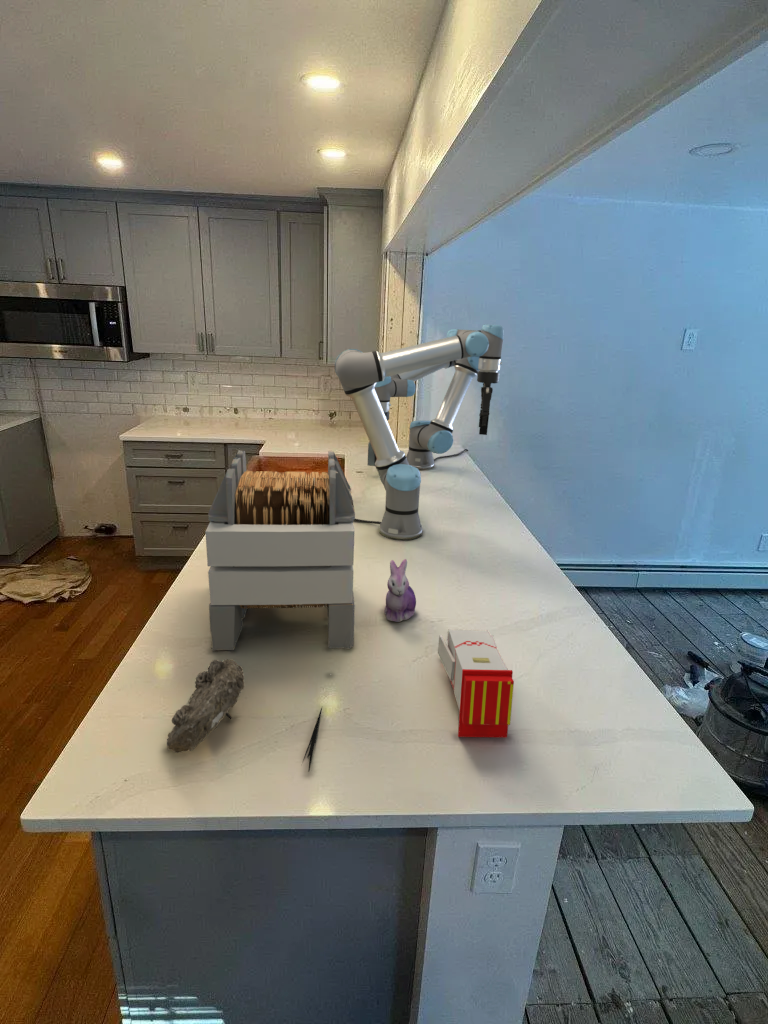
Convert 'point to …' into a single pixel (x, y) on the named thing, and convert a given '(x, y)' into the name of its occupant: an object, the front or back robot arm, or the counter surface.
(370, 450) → the brick
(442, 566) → the counter surface
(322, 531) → the record crate
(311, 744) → the feather
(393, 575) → the figurine
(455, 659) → the toy
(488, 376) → the front robot arm
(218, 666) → the fossil
